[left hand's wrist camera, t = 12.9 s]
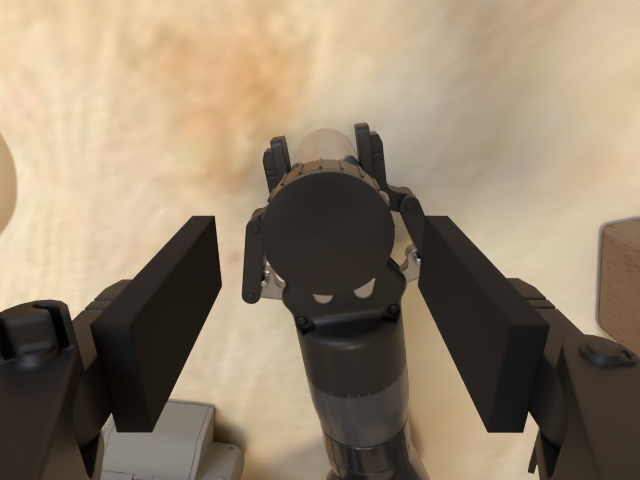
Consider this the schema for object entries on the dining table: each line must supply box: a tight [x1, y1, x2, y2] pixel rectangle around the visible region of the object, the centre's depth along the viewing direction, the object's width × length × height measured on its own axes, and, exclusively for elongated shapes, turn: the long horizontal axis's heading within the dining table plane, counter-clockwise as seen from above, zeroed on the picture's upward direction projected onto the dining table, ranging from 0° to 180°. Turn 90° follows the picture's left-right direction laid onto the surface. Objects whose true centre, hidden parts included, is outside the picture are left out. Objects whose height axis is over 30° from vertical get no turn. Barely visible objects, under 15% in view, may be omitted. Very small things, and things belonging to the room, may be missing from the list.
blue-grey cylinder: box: [291, 129, 360, 171], centre depth 23 cm, size 4×4×16 cm
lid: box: [261, 158, 395, 296], centre depth 16 cm, size 5×5×2 cm
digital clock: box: [100, 402, 244, 480], centre depth 36 cm, size 16×9×11 cm, turn 71°
